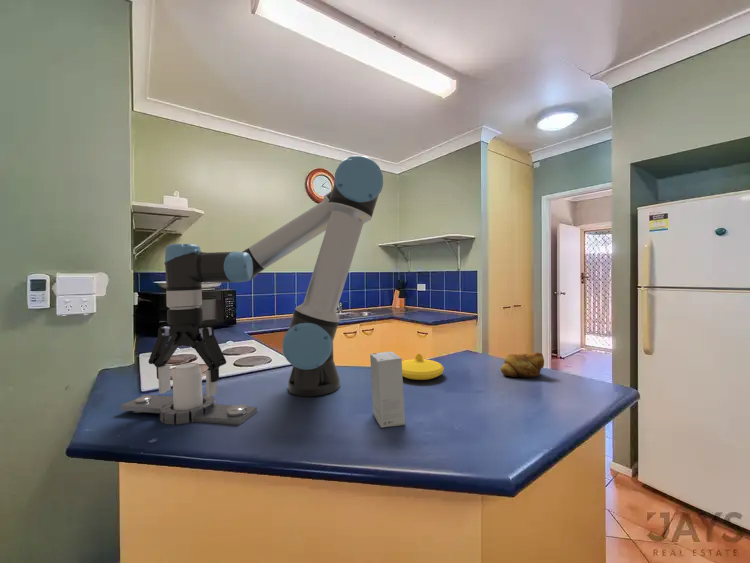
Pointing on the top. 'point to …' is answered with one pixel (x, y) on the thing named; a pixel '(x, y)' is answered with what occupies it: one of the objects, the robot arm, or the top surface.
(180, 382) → the beverage can
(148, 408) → the grey pipe clamp bracket
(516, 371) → the bread roll
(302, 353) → the robot arm
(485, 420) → the top surface
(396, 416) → the skincare box
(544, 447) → the top surface
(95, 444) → the top surface
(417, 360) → the yellow lidded dish
